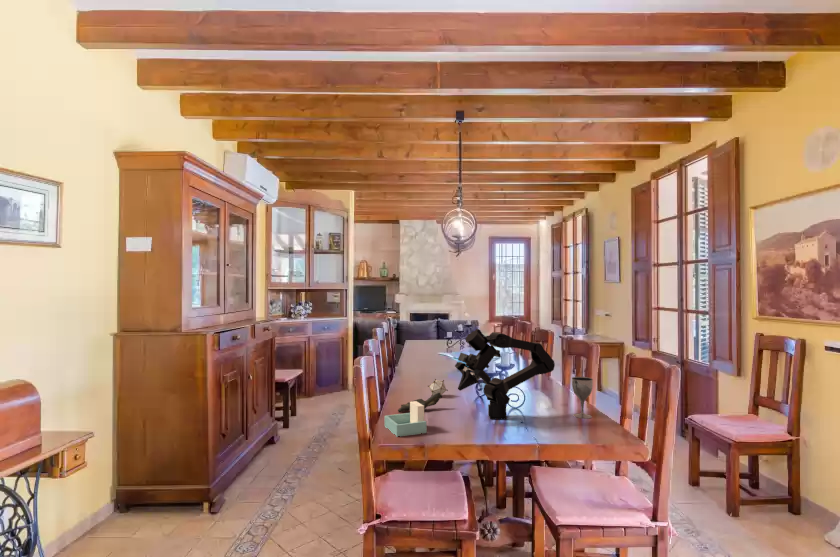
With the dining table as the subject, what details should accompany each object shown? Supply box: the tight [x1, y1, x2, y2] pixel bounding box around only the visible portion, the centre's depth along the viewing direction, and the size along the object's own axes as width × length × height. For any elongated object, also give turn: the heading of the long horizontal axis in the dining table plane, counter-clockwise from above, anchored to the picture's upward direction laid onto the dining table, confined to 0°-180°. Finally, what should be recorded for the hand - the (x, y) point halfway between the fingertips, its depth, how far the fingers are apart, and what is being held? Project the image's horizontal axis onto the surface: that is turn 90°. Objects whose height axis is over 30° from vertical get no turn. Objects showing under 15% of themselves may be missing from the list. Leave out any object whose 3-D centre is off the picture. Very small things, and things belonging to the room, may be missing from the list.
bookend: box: [409, 400, 425, 423], centre depth 175 cm, size 10×8×9 cm
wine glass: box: [571, 376, 594, 419], centre depth 191 cm, size 8×8×15 cm
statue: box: [397, 393, 443, 413], centre depth 201 cm, size 6×6×20 cm
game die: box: [427, 378, 449, 397], centre depth 225 cm, size 9×8×10 cm
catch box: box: [384, 412, 428, 438], centre depth 174 cm, size 11×13×4 cm
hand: (458, 389), depth 183 cm, fingers closed
